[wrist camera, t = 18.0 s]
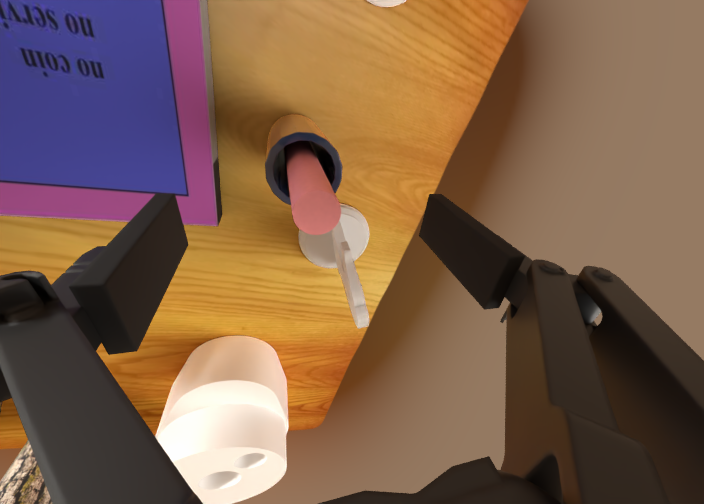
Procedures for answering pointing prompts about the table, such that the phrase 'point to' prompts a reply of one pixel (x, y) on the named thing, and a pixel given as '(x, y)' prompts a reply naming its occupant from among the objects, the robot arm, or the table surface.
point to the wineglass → (386, 2)
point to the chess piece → (342, 256)
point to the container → (228, 420)
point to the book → (107, 109)
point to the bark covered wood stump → (24, 481)
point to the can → (292, 131)
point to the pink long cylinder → (310, 191)
